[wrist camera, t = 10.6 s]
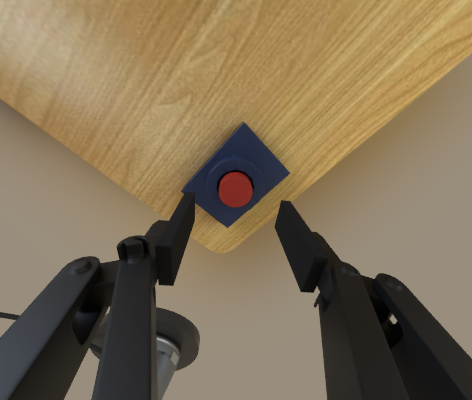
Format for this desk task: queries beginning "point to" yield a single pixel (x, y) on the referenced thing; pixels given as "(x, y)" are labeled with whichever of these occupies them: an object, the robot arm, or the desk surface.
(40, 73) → the desk surface
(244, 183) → the red button
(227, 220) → the button block
